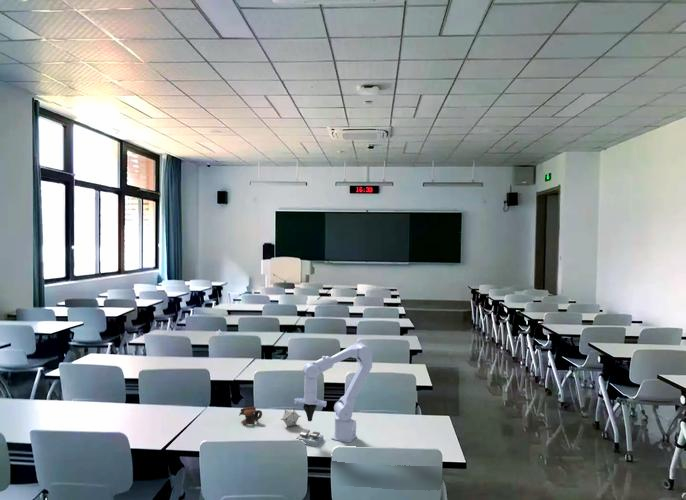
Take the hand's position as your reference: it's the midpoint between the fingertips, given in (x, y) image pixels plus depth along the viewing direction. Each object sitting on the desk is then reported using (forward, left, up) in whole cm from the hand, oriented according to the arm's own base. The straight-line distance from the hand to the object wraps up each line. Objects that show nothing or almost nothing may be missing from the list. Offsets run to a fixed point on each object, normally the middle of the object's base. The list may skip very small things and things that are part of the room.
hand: (310, 420), depth 216 cm
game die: (+16, -12, -10) cm, 22 cm away
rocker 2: (-3, 0, -6) cm, 7 cm away
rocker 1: (+2, 0, -6) cm, 7 cm away
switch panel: (0, 0, -9) cm, 9 cm away
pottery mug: (+36, -8, -10) cm, 38 cm away
